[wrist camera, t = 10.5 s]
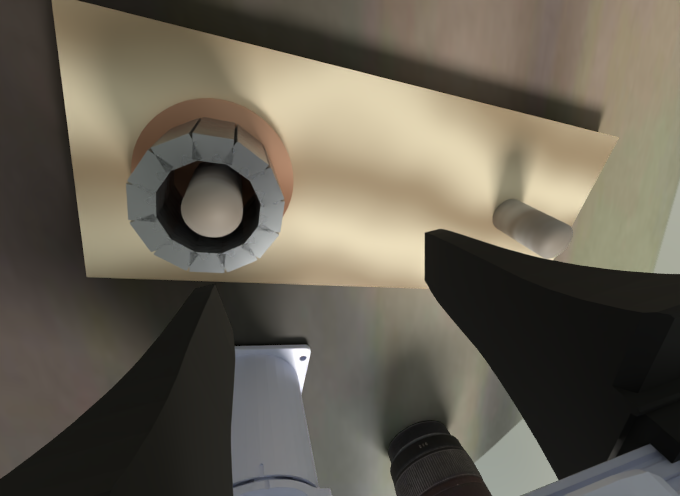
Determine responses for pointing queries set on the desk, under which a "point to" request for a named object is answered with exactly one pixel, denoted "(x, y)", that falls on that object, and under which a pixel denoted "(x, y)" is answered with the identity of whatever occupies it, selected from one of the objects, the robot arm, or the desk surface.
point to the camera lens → (432, 463)
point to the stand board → (307, 156)
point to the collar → (165, 200)
